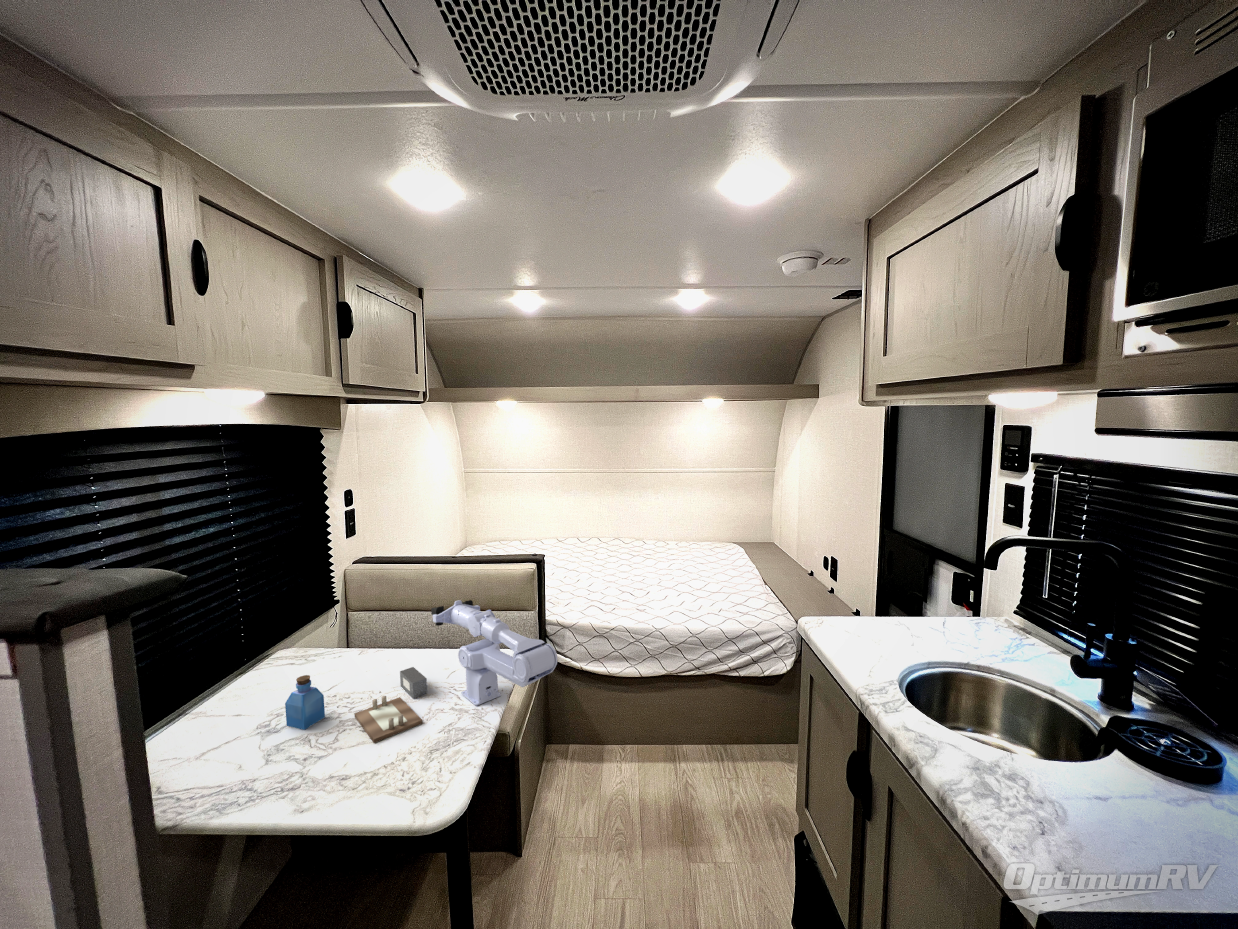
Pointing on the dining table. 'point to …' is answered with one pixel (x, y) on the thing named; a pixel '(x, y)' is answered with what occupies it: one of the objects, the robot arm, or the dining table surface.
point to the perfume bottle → (304, 705)
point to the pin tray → (387, 718)
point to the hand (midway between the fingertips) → (444, 608)
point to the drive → (413, 682)
